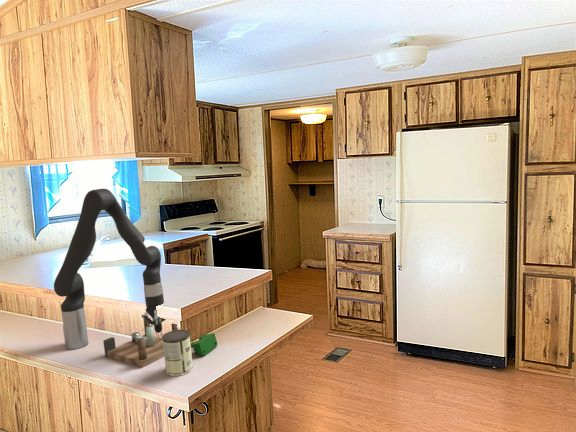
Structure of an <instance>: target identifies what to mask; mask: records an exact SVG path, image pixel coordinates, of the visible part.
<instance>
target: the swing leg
mask: <svg viewBox="0 0 576 432" xmlns="http://www.w3.org/2000/svg"><path fill="white" fill-rule="evenodd" d="M154 332H155V330H154V325H151V326H147V327H146V336H147V338H146V337H142V336H143V335H140V332H139V331H135V332H132V333H131V341H133V342H137V339H139V338H145V345H148V346H149V347H151V346H154V345H155V340H154V334H155V333H154Z"/></svg>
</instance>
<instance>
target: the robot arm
mask: <svg viewBox="0 0 576 432" xmlns="http://www.w3.org/2000/svg"><path fill="white" fill-rule="evenodd" d="M103 211H105V212H106V213H107V214H109V216H110V217H111V219H113V222H114V224H115V227H116V229H117V232H118V234H119V236H120V237H121V239H122V240H123V241H124V242H125V243H126V245H128V246H129V248H130V250H131V252H132V254H133V257H134V258H135V259H136V261H137V262H138V263H139V264H140V265H142V266H145V269H144V270H143V272H142V280H143V293H144V300H145V301H144V302H145V308H146V309H145V312H144V313H143V314H141V318H142V319H145V320H146V321H147V322H148V323H149V324H151V326H153V330H154V332H156V333H157V334H159V333H162V331H163V325H162V323H163V322H165V321H166V320H167V318H166V319H163V318H160V317H158V316H157V310H156V306H158V305H161V304H163V303H164V304H165V299H164V289H163V285H162V280H161V263H162V255H161V251H160V249H159V248H158V247H157V246H154V245H150V246H148V247H146V245H145V243H144V242H145V235H144V236H143V234H142V233H141V232H140V230H139V229H138V228H137V227H136V226H135V225H134V223H133V222H132V221H131V219H130V218H129V216H127V213H125V211H124V210H123V208H122V206H121V205H120V203H119V201H118V200H117V198H116V197H115V195H114V194H113V192H112V191H111V190H110V189H107V188H98V189H92V190H89V191H88V192H86V194H85V196H84V198H83V201H82V207H81V212H80V215H79V218H78V221H77V224H76V227H75V230H74V233H73V234H72V237H71V241H70V244H69V246H68V250H67V253H66V255H65V257H64V260H63V263H62V265H61V267H60V269H59V272H58V273H57V275H56V277H55V280H54V282H53V289H54V291H53V292H55V293H54V294H56V296H58V297H62V298H63V297H65V298H64V300H63V302H61V304H60V310H61V319H62V320H61V321H62V330H63V331H62V333H63V338H64V345H65V349H67V350H77V349H81V348H83V347H86V346H88V344H89V335H88V330H87V329H88V327H87V321H86V313H85V304H84V303H85V301H86V299H85V298H86V297H85V282H84V279H83V277H82V276H81V273H78V271H79V270H80V268H81V267H82V266H83V264H84V263H86V261H87V260H88V258H89V257H90V256H91V254H92V252H93V249H94V247H95V244H96V239H97V234H96V233H97V232H96V222H97V220H98V218H99V216H100V214H101V212H103ZM148 317H150V318H148Z"/></svg>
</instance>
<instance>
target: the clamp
mask: <svg viewBox="0 0 576 432" xmlns="http://www.w3.org/2000/svg"><path fill="white" fill-rule="evenodd" d="M198 339H199V340H196V341H192V342H190V343H191V349H193V351H194V353H195V354H198V356H199V357H203V356H206V355H207V354H209V353H210V352H211V351H213V350H214V349H216V348H217V347H218V340H217V338H216V333H215V332H213V333H206V334H202V335H201V336H200V337H198Z"/></svg>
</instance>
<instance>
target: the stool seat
mask: <svg viewBox="0 0 576 432" xmlns="http://www.w3.org/2000/svg"><path fill="white" fill-rule="evenodd" d="M142 319H143V318H142ZM173 323H174V322H173ZM173 323H171V331H174V330H178V328H177V324H173ZM147 326H150V324H149V323H148V322H147V321H146V320H145V319H143V328H144V334H143V335H141V336H142V337H146V338H147V336H146V327H147ZM154 340H155V345H154V346H151V347H149V346H148V345H145V338H139V339H137V342H133V341H132V340H130V341H127V342H125V343H124V344H121V345H119V346H116V340H115V337H112V336H110V337H109V338H106V339H104V340H103V342H102V343H103V350H104V356H105V358H109V359H113V360H116V361H118V362H119V361H120V362H123V363H126V364H130V365H133V366H136V367H140V368H145V367H147V366H148V365H151V364H153V363H155V362H157V361H159V360H160V359H162V358H165V357H164V348H163V340H162V338H159V337H155V336H154Z"/></svg>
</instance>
